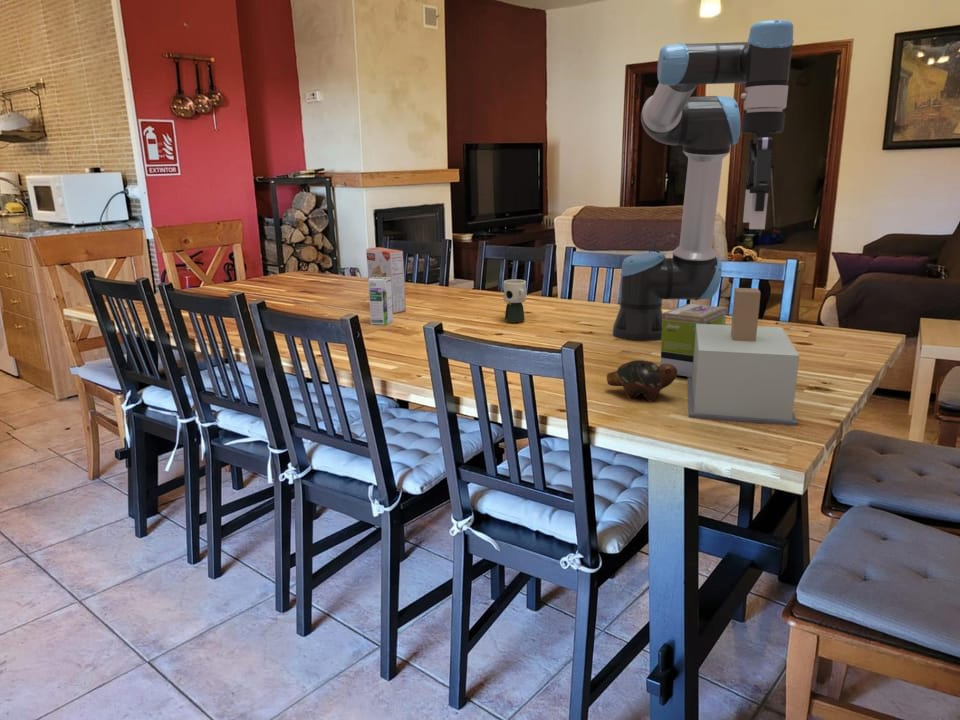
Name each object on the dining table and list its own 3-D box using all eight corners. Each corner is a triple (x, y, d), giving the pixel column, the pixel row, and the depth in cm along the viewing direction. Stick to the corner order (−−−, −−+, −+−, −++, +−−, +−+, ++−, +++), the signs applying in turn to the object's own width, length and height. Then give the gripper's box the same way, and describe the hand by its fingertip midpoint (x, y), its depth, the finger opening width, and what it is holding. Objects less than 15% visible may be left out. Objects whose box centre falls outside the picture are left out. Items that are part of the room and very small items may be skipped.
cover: (691, 378, 160) (699, 279, 154) (776, 384, 156) (787, 281, 149) (694, 413, 139) (702, 299, 133) (791, 420, 134) (805, 303, 128)
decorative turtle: (675, 406, 145) (674, 369, 142) (602, 403, 150) (601, 367, 148) (680, 389, 153) (679, 355, 151) (611, 387, 159) (610, 353, 157)
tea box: (684, 360, 177) (688, 302, 173) (723, 366, 171) (728, 306, 167) (658, 372, 166) (661, 310, 162) (699, 379, 159) (704, 315, 156)
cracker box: (368, 308, 244) (365, 248, 239) (383, 305, 248) (379, 246, 242) (392, 314, 234) (388, 251, 229) (406, 311, 238) (403, 250, 232)
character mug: (496, 319, 224) (496, 279, 220) (516, 317, 227) (516, 277, 223) (513, 326, 215) (513, 284, 211) (533, 324, 218) (533, 282, 214)
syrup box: (370, 324, 220) (367, 279, 216) (377, 320, 226) (374, 276, 222) (387, 325, 219) (384, 279, 215) (393, 321, 224) (391, 276, 220)
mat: (687, 379, 162) (687, 377, 161) (780, 385, 156) (780, 383, 156) (688, 417, 139) (689, 414, 138) (797, 425, 133) (798, 422, 133)
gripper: (737, 115, 144) (729, 219, 150) (748, 108, 121) (737, 231, 127) (776, 114, 142) (766, 219, 148) (795, 106, 119) (782, 232, 125)
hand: (753, 225), depth 138 cm, fingers open, 13 cm apart
